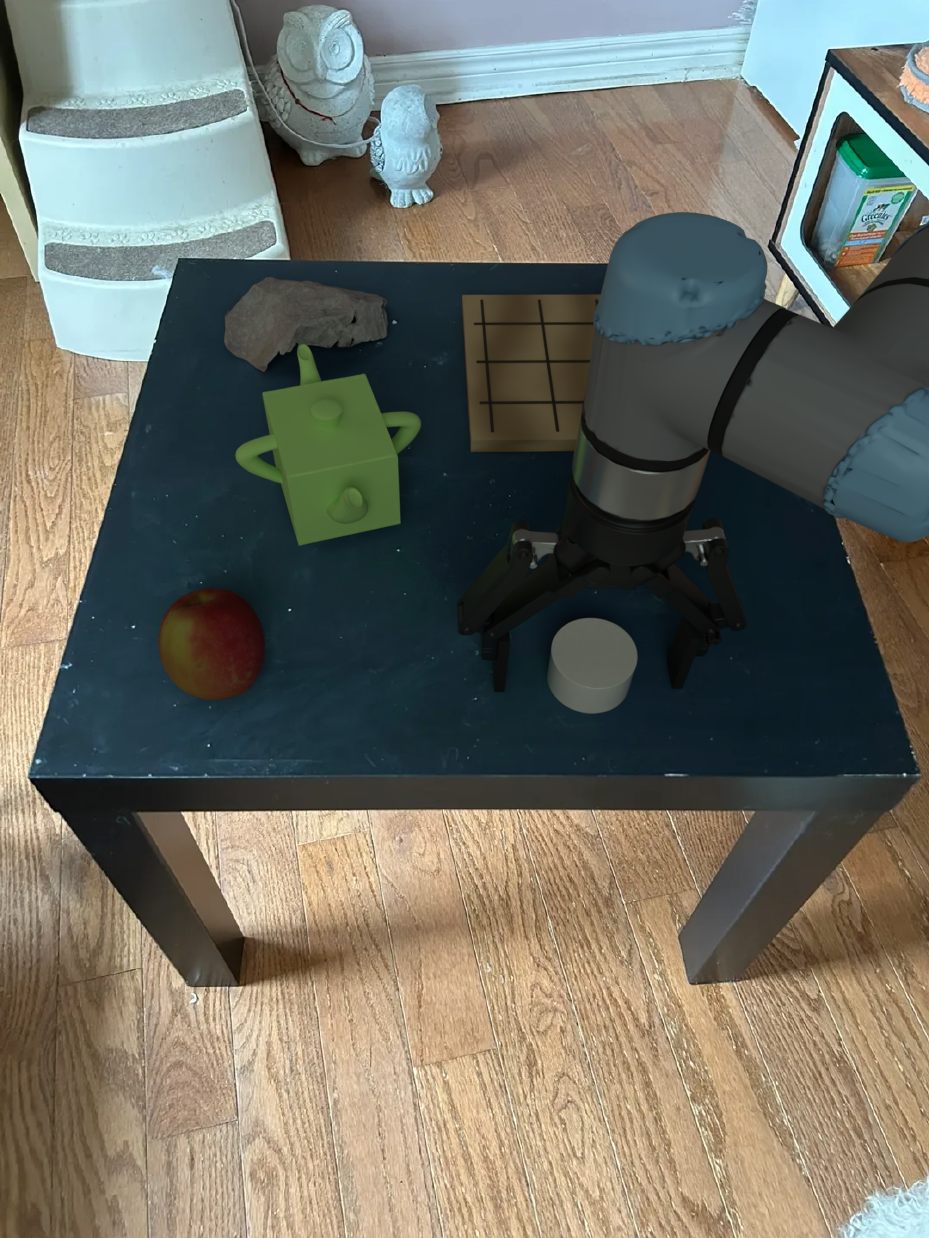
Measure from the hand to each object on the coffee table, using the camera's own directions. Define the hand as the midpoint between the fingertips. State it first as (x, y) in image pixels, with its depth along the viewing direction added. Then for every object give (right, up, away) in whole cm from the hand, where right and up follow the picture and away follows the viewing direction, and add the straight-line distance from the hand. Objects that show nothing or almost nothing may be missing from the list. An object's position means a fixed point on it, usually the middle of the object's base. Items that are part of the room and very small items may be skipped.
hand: (586, 675), depth 74 cm
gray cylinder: (0, 0, 0) cm, 0 cm away
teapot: (-21, +15, +11) cm, 27 cm away
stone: (-25, +32, +24) cm, 47 cm away
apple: (-28, 0, 0) cm, 28 cm away
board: (+3, +29, +22) cm, 36 cm away
